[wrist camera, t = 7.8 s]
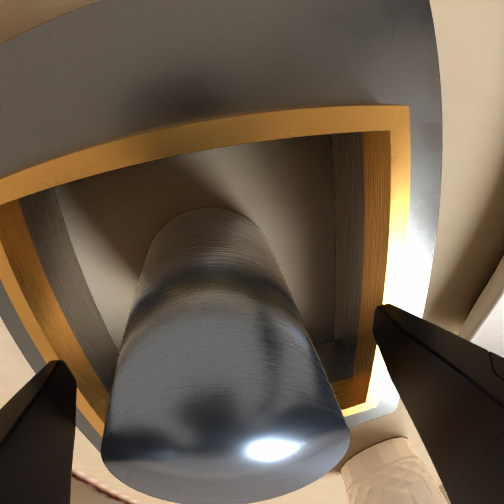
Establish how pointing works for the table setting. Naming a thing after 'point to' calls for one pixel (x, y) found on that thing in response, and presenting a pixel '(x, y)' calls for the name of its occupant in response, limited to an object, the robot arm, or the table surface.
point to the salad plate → (488, 316)
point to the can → (218, 373)
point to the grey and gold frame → (215, 136)
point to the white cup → (390, 476)
